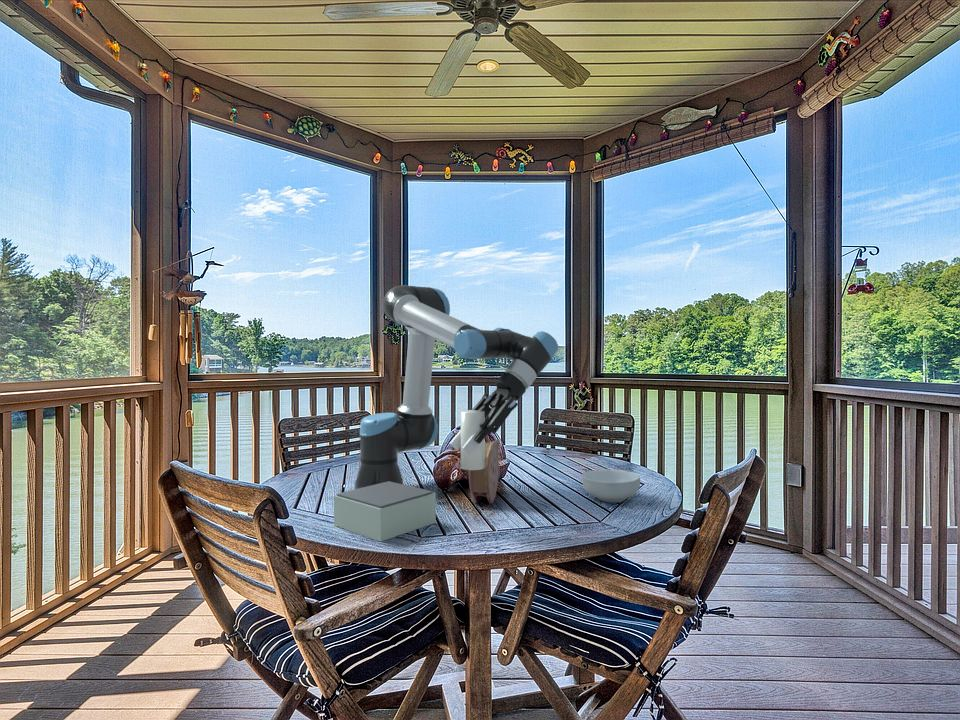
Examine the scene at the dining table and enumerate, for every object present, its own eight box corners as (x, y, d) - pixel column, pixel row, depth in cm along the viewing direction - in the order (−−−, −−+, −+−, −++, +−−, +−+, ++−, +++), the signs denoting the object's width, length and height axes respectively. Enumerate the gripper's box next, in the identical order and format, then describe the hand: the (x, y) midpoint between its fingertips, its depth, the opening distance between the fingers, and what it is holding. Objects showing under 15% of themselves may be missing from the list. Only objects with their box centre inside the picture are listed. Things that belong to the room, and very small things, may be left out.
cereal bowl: (593, 488, 174) (593, 466, 174) (646, 496, 165) (646, 472, 165) (573, 501, 159) (573, 477, 159) (630, 510, 151) (631, 484, 151)
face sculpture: (492, 508, 153) (492, 448, 153) (468, 507, 154) (467, 447, 154) (500, 489, 173) (500, 437, 172) (479, 489, 174) (479, 436, 174)
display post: (455, 467, 137) (455, 411, 137) (471, 463, 142) (471, 409, 141) (473, 471, 133) (473, 413, 133) (489, 467, 138) (489, 411, 137)
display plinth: (334, 525, 138) (333, 493, 138) (389, 509, 152) (389, 480, 152) (380, 541, 127) (380, 507, 126) (435, 522, 140) (435, 491, 140)
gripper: (545, 393, 136) (488, 466, 129) (504, 388, 153) (451, 452, 145) (528, 372, 134) (468, 445, 126) (488, 369, 150) (433, 434, 142)
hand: (459, 449), depth 135 cm, fingers closed on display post, 6 cm apart
